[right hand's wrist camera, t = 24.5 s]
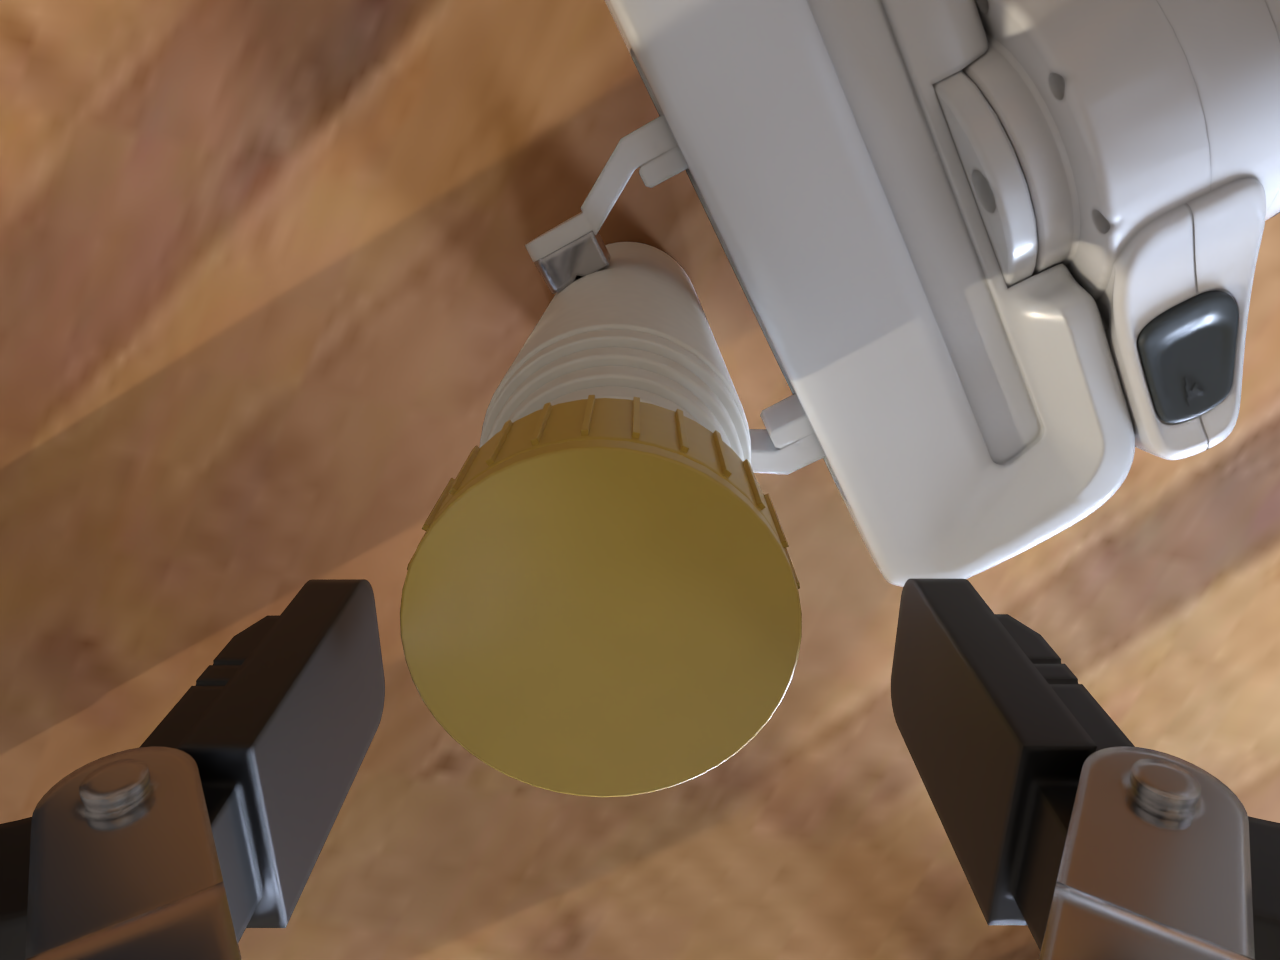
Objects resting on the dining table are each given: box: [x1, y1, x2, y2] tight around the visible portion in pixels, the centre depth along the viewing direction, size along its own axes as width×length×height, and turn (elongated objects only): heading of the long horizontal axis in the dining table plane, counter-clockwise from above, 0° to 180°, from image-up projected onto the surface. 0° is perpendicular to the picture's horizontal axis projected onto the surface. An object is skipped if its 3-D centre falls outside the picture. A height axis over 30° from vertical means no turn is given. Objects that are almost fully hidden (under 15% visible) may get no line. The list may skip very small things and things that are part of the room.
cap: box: [400, 395, 802, 797], centre depth 11 cm, size 5×5×2 cm
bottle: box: [479, 242, 751, 464], centre depth 20 cm, size 5×5×21 cm
